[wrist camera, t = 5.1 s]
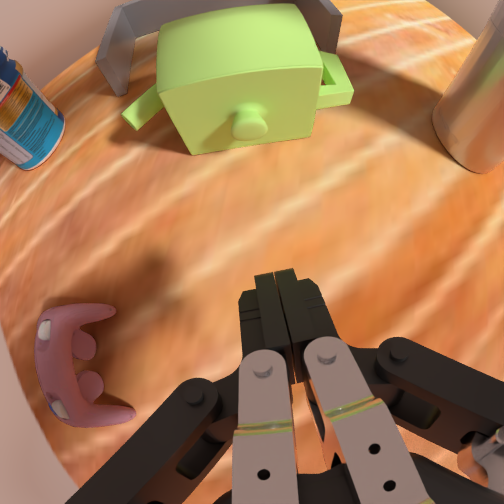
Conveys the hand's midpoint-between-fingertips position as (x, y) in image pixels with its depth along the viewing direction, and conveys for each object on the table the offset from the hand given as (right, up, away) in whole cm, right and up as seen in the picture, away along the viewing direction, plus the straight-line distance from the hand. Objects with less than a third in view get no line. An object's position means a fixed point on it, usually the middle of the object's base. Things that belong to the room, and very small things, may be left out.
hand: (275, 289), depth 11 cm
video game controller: (-13, -8, +9) cm, 18 cm away
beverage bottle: (-26, +15, +15) cm, 33 cm away
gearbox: (-2, +13, +13) cm, 19 cm away
